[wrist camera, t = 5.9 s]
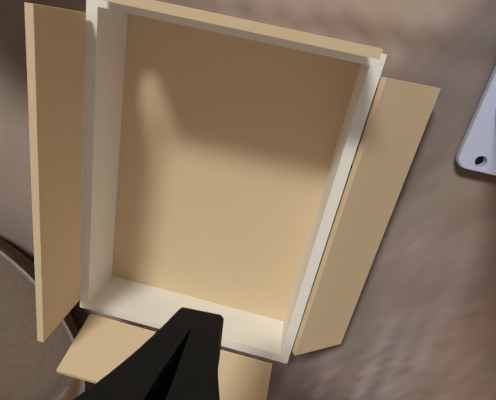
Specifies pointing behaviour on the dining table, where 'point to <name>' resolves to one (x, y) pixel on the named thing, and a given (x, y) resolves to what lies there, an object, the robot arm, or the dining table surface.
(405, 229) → the dining table surface
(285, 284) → the carton
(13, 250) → the plant saucer
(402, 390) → the dining table surface
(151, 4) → the flap
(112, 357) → the flap
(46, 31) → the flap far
